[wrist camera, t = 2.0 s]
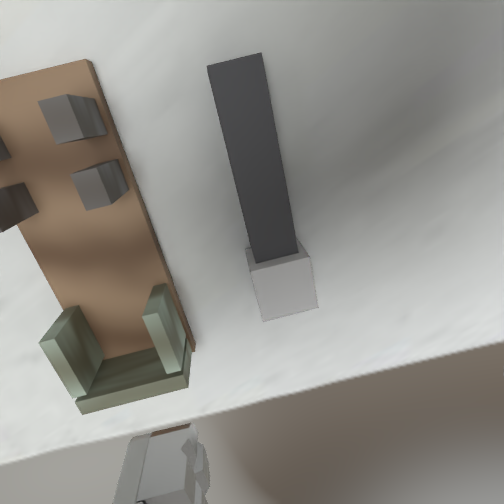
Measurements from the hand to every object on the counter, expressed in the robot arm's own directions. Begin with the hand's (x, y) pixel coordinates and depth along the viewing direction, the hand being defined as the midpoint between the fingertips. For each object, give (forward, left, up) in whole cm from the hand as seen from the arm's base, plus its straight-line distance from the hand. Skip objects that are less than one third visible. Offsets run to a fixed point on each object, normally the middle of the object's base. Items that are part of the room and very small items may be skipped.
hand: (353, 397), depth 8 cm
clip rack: (-2, -12, -17) cm, 21 cm away
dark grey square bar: (-3, 0, -17) cm, 17 cm away
